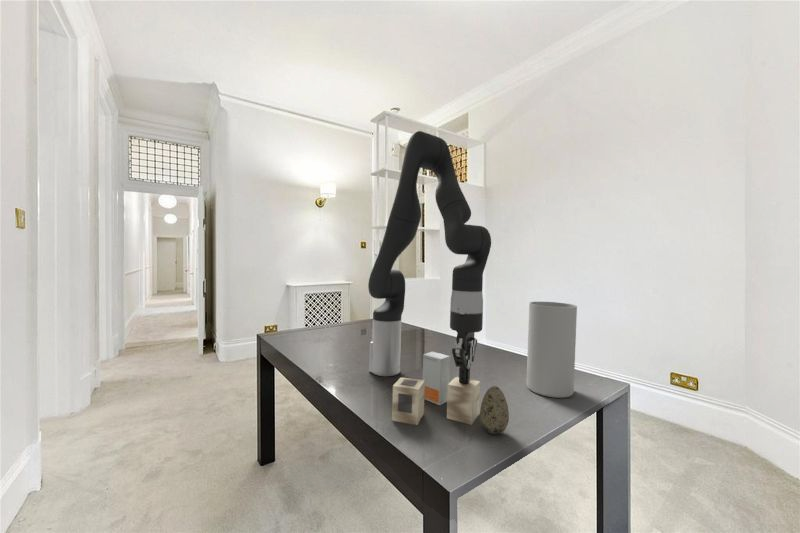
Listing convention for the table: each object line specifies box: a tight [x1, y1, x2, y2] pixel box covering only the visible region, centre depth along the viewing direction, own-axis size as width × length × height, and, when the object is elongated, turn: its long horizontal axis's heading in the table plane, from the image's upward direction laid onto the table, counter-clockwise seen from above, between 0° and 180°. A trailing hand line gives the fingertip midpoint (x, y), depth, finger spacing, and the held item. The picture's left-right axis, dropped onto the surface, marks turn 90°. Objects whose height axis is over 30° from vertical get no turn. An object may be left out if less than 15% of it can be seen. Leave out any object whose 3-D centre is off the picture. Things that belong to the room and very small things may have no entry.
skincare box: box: [421, 351, 451, 406], centre depth 87 cm, size 6×4×12 cm
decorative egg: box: [479, 385, 510, 435], centre depth 71 cm, size 6×6×10 cm
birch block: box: [446, 376, 481, 426], centre depth 78 cm, size 6×6×8 cm
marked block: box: [391, 377, 425, 426], centre depth 77 cm, size 6×6×8 cm
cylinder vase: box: [526, 301, 578, 399], centre depth 96 cm, size 12×12×25 cm
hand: (464, 382), depth 78 cm, fingers closed
